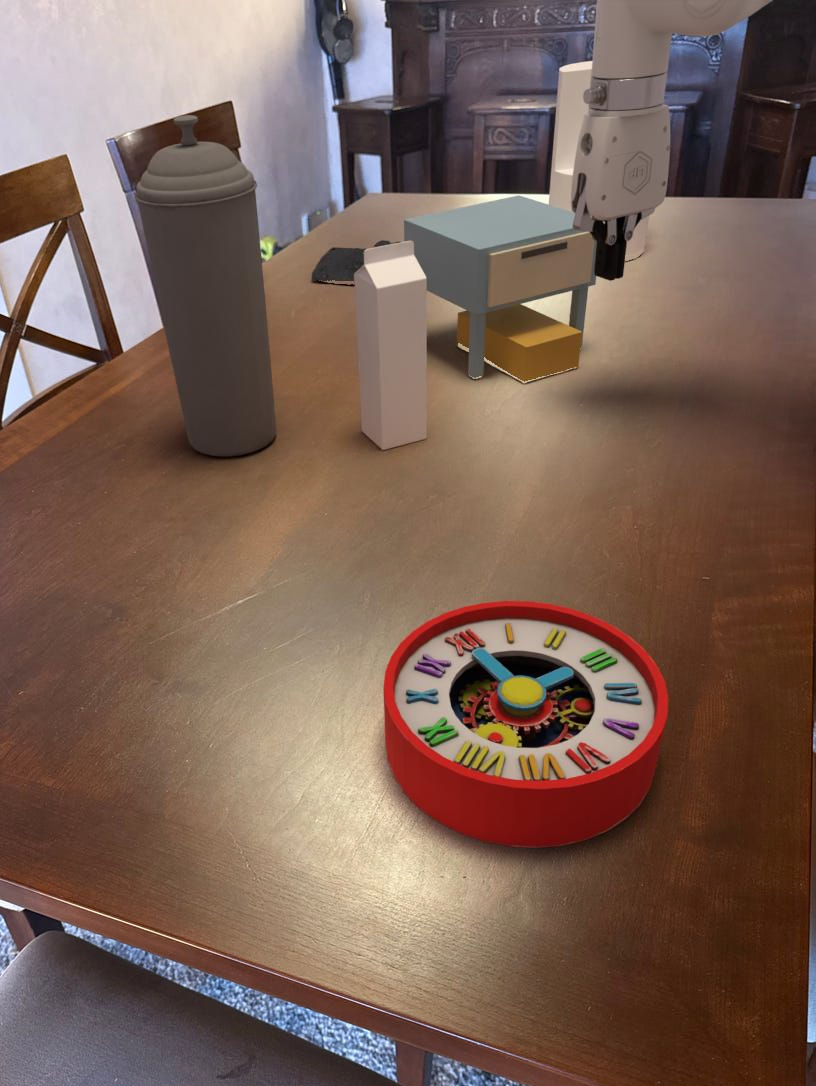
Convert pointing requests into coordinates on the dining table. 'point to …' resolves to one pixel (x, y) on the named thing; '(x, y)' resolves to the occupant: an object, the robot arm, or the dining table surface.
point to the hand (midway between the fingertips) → (608, 276)
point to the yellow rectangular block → (525, 342)
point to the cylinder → (576, 142)
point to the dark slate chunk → (341, 263)
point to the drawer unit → (503, 260)
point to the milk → (392, 345)
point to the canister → (210, 291)
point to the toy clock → (523, 722)
